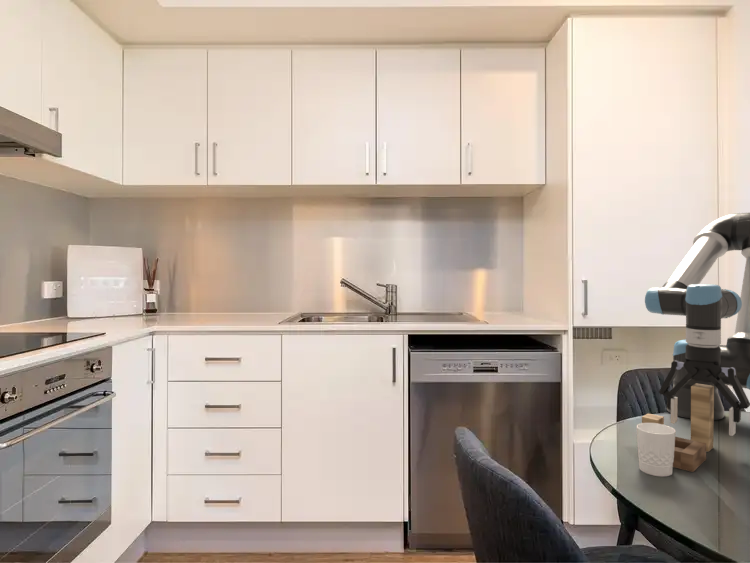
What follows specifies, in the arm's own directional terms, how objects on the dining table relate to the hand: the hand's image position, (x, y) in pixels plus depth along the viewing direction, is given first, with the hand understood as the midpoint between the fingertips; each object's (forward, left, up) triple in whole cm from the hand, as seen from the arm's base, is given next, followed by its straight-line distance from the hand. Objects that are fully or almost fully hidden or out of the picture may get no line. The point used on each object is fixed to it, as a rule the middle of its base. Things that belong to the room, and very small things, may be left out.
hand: (702, 428), depth 129 cm
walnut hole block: (+13, -2, -5) cm, 14 cm away
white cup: (+23, -3, -5) cm, 24 cm away
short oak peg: (+5, -10, -5) cm, 12 cm away
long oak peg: (0, 0, -5) cm, 5 cm away
